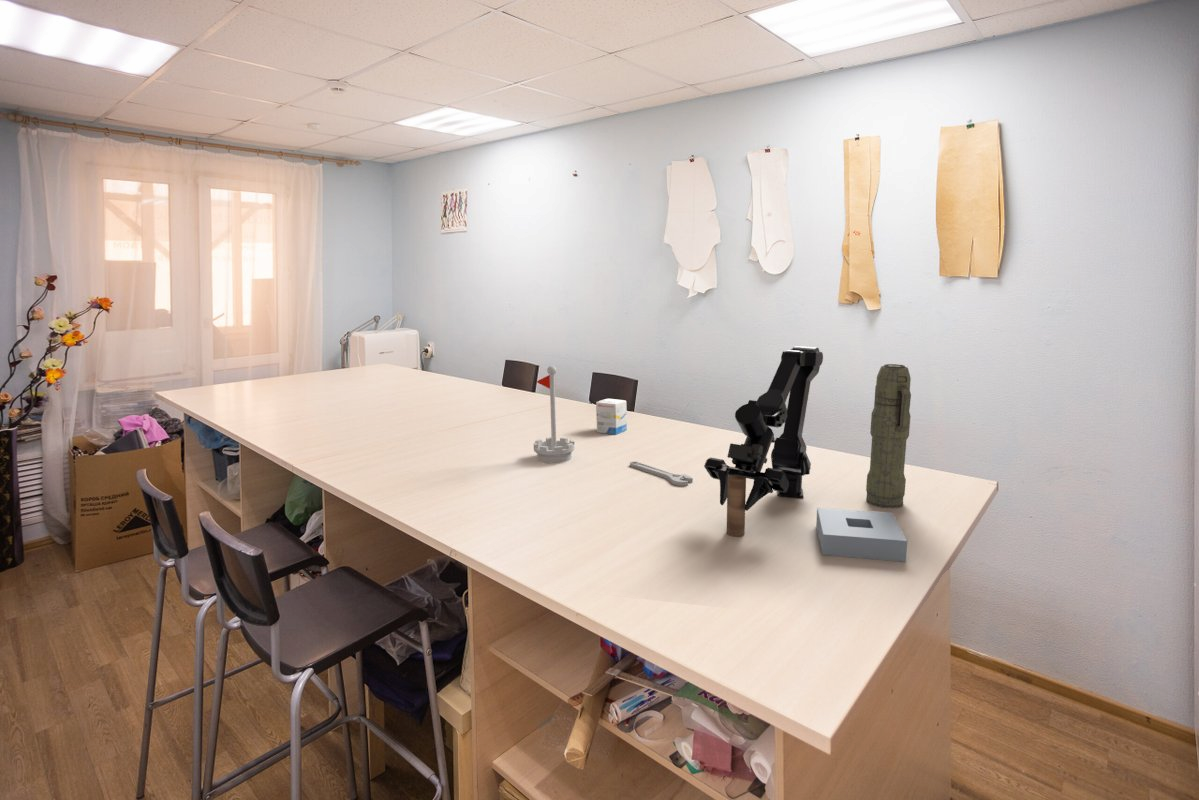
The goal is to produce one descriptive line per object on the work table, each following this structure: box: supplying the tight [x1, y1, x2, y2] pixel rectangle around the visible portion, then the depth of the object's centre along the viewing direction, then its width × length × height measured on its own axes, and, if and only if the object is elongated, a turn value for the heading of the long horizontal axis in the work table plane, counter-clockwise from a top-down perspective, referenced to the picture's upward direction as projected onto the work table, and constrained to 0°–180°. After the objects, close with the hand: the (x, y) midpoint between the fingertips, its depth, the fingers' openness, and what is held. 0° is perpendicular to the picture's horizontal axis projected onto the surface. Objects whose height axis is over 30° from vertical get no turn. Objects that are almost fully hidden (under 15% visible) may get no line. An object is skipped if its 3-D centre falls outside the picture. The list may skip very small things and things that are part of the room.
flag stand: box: [533, 365, 575, 464], centre depth 206 cm, size 13×13×30 cm
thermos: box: [865, 363, 912, 509], centre depth 161 cm, size 9×12×35 cm
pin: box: [725, 475, 747, 537], centre depth 145 cm, size 4×4×13 cm
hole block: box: [815, 507, 908, 563], centre depth 140 cm, size 16×16×4 cm
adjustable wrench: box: [629, 461, 694, 487], centre depth 191 cm, size 25×6×2 cm, turn 33°
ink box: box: [595, 398, 628, 435], centre depth 242 cm, size 9×8×12 cm
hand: (733, 507), depth 144 cm, fingers open, 6 cm apart
